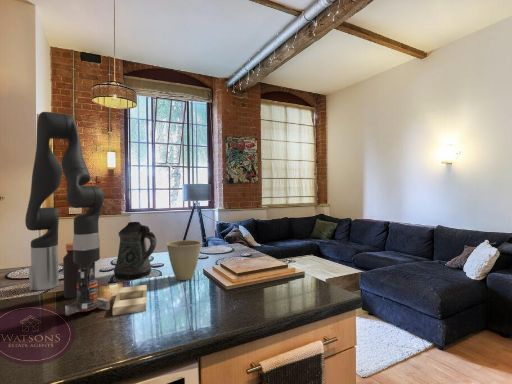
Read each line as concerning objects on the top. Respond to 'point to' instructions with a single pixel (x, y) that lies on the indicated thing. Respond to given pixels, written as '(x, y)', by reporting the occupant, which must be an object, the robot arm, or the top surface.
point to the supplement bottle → (92, 296)
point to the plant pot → (184, 258)
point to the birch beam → (130, 300)
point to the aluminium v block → (101, 304)
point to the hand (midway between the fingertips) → (87, 297)
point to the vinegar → (70, 273)
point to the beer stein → (134, 252)
